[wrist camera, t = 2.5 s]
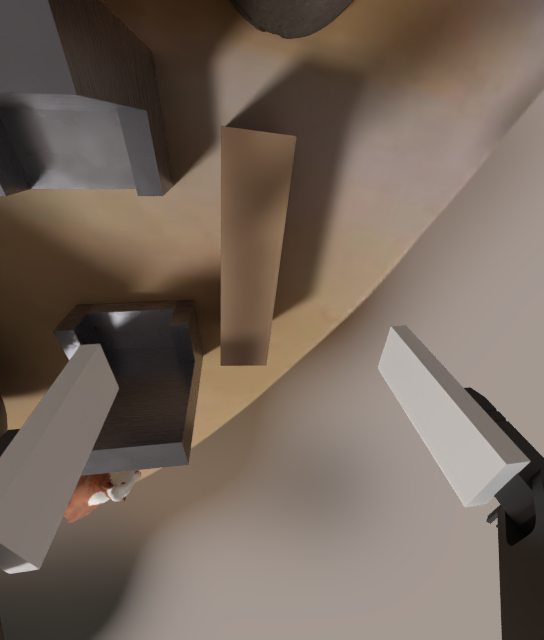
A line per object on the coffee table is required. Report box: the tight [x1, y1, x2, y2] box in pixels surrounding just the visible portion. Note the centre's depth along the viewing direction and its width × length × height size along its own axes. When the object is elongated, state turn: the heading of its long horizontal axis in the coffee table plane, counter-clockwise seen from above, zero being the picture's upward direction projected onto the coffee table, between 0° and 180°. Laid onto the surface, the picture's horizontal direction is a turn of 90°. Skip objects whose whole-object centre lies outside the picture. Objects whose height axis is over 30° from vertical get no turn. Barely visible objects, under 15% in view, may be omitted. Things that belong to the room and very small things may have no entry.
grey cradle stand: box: [0, 0, 203, 476], centre depth 18 cm, size 10×24×12 cm, turn 179°
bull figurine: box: [64, 470, 141, 523], centre depth 35 cm, size 4×13×8 cm, turn 129°
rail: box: [221, 126, 297, 366], centre depth 21 cm, size 4×17×6 cm, turn 173°
